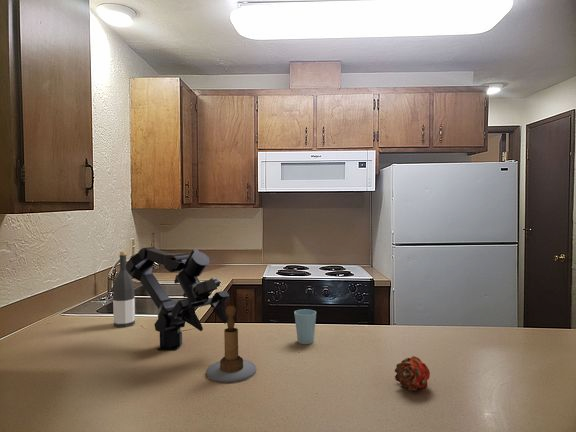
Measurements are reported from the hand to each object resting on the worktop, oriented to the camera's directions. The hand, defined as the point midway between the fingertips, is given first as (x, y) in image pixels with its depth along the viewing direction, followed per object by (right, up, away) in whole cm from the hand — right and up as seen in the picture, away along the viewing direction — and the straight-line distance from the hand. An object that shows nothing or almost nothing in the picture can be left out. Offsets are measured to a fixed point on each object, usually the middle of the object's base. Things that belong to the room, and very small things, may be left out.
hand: (214, 326), depth 120 cm
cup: (+29, -11, +19) cm, 36 cm away
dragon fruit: (+55, -11, -17) cm, 58 cm away
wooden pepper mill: (+6, -11, -6) cm, 13 cm away
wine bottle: (-44, -11, +42) cm, 62 cm away
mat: (+6, -11, -6) cm, 14 cm away
